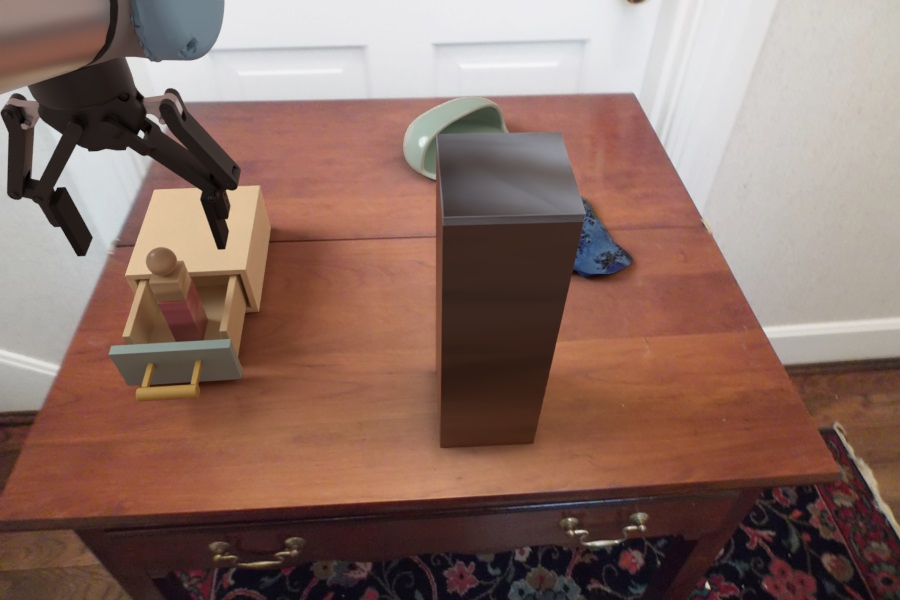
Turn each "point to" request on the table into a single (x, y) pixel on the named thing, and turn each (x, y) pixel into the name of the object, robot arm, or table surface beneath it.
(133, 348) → the drawer
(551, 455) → the table surface
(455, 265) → the stand
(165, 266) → the doll
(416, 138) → the planter
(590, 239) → the rock
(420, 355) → the table surface
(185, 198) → the cabinet
